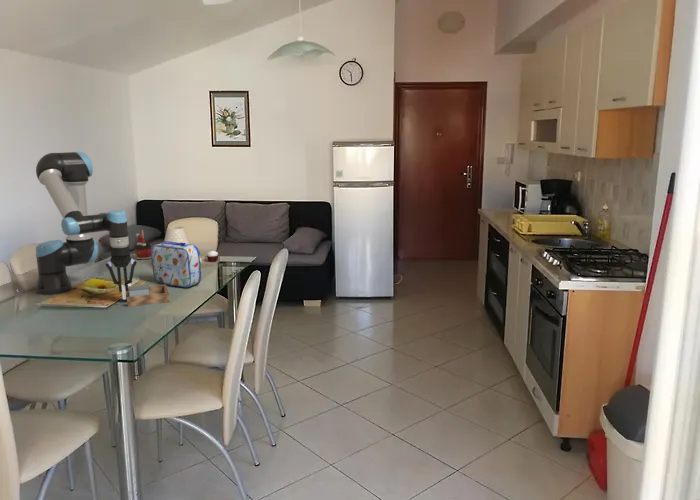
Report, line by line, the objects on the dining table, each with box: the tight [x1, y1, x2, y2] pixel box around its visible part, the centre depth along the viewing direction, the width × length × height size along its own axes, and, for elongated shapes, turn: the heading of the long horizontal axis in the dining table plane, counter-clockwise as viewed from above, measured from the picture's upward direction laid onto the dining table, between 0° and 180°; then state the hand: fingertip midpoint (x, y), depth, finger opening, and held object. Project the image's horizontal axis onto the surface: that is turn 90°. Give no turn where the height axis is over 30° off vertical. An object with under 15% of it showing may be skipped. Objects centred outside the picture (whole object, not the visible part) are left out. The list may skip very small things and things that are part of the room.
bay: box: [126, 284, 170, 307], centre depth 252 cm, size 17×16×4 cm
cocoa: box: [204, 239, 221, 263], centre depth 327 cm, size 10×6×12 cm, turn 93°
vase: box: [163, 226, 191, 244], centre depth 307 cm, size 17×17×23 cm
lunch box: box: [150, 241, 203, 288], centre depth 275 cm, size 28×10×22 cm, turn 62°
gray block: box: [128, 284, 149, 297], centre depth 251 cm, size 8×6×6 cm
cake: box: [134, 228, 152, 260], centre depth 335 cm, size 11×9×18 cm
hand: (124, 298), depth 248 cm, fingers closed
